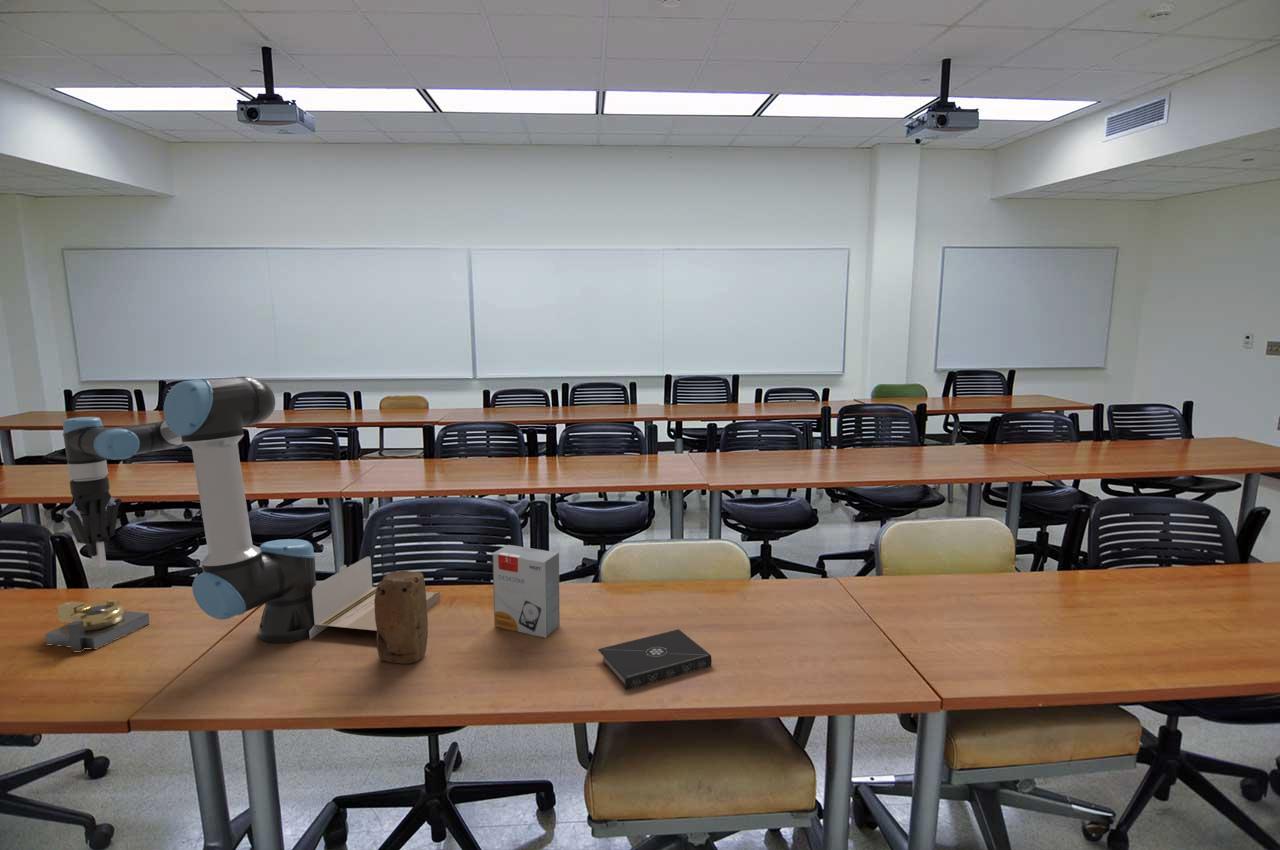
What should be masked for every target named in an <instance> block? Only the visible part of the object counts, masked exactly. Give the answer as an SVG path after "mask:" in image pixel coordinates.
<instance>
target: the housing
mask: <svg viewBox="0 0 1280 850" xmlns="http://www.w3.org/2000/svg"><path fill="white" fill-rule="evenodd" d="M123 611H124V618H123V619H122V620H121V621H119V622H117V623H115V624H113V625H110V626H107V627H104V628H100V629H96V630H90V631H84V624H83V621H73V622H72V623H71V622H68V623H67V624H65V625H62V626H60V627H57V628H55V629H53V630H50V631H48V632H46V633H45V634H44V637H45V642H46V643H45V644H46V645H47V644H52V645H61V646H71V648H70V652H74V651H82V650H83V649H84V648H91V649H95V648H98V647H100V646H102V645H104V644H106V643H109V642H111V641H113V640H114V639H116V638H119V637H121V636H123V635H125V634H128V633H130V632H132V631H134V630H136V631H138V630H137V629H138V628H140V627H142V626H145V625H146V624H149V623H150V616H149V615H150V614H149V612H138V611H129V610H123ZM149 625H150V624H149ZM145 627H146V626H145ZM134 632H135V631H134ZM132 633H133V632H132ZM130 634H131V633H130ZM128 635H129V634H128ZM113 642H114V641H113ZM111 643H112V642H111ZM109 644H110V643H109ZM82 652H83V651H82Z"/></svg>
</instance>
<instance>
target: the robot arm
mask: <svg viewBox="0 0 1280 850" xmlns="http://www.w3.org/2000/svg"><path fill="white" fill-rule="evenodd" d="M275 406H276V397H275V393H274V391H273V390H272V388H271V387H270V386H269V385H268V384H267V383H265V382H264V381H263V380H260V379H258V378H256V377H253V376H251V377H250V376H236V377H234V376H233V377H230V376H229V377H218V378H216V377H215V378H197V379H191V380H184V381H181V382H178V383H176V384H175V385H174V386H172V387H171V388H170V390H169V392H168V393H167V395H166V397H165V399H164V404H163V417H164V419H162V420H160V421H159V420H158V421H156V422H155V421H154V422H150V423H149V422H148V423H140V424H139V423H138V424H132V425H123V426H115V427H104V425H103V422H102V421H103V420H102V419H101V418H100V417H97V416H83V417H82V416H80V417H72V418H67V419H65V420H64V421H63V422H62V428H63V433H62V437H63V443H64V449H65V456H66V460H67V461H66V463H67V471H68V477H69V479H70V481H69V487H70V488H69V489H70V494H71V496H72V500H71V503H70V506H69V507H68V508H67V509H62V510H61V514H62V515H63V516H64V517H65V519H67V521H68V524H69V526H70V528H71V531H72V533H73V536H74V538H75V541H76V542H77V544H85V545H86V547H87V555H88V556H89V557H91V564H92V567H93V568H98V569H99V568H101V569H102V568H104V567H107V559H106V558H107V557H106V553H107V552H108V550H109V548H108V541H110V539H111V537H114V536H115V534H116V525H117V519H118V515H119V514H118V513H119V507H120V505H121V504H122V499H121V498H115V497H112V495H111V493H110V492H109V491H110V481H109V477H108V476H107V475H108V474H109V470H108V462H107V460H114V461H117V460H126V459H129V458H131V457H133V456H134V455H135V456H136V455H141V454H145V453H147V454H148V453H150V452H158V451H166V450H170V449H172V450H174V449H180V448H183V447H186V446H187V447H188V448H189V449H191V452H192V459H193V465H194V471H195V479H196V483H197V484H196V485H197V489H198V491H197V492H198V497H199V502H200V508H201V514H202V521H203V522H202V523H203V526H204V534H205V535H204V536H205V540H206V546H207V554H206V556H205V557H204V558H203V559H202V561H201V568H202V572H201V573H199V574H198V575H197V576H195V577H194V579H193V582H192V585H191V587H192V588H191V589H192V593H193V594H192V595H193V597H194V600H195V601H196V603H197V605H198V607H199V608H200V609H201V611H203V612H204V613H205V614H206V615H208V616H209V617H211V618H213V619H214V620H220V621H221V620H222V621H224V620H229V619H231V618H234V617H236V616H241V615H243V614H244V613H246V612H248V611H251V610H253V609H256V608H258V607H260V606H263V605H264V608H263V612H262V615H261V620H260V624H259V626H258V633H259V638H260V640H262V641H263V642H266V643H269V644H270V643H271V644H283V643H292V642H297V641H301V640H304V639H307V638H310V635H309V631H310V630H311V629H312V628H313V626H314V625H315V624H314V611H313V599H312V589H313V587H314V586H316V585H317V576H316V573H317V572H316V561H315V558H316V556H315V552H314V546H313V544H312V543H311V542H310V541H308V540H304V539H297V538H292V539H291V538H287V539H286V538H285V539H275V540H270V541H266V542H263V543H261V544H260V545H259V547H257V546H255V545H254V544H253V539H252V533H251V527H250V520H249V513H248V512H249V511H248V505H247V500H246V493H245V492H246V491H245V485H244V480H243V473H242V466H241V459H240V454H239V446H238V444H239V442H240V441H241V440H242V438H243V437H244V436H245V433H244V427H248V426H252V425H256V424H260V423H263V422H264V421H265V420H267V419H268V418H270V417H271V415H272V414H273V412H274V410H275V408H276V407H275ZM78 514H79V515H80V516H79V515H78ZM81 519H82V521H81Z"/></svg>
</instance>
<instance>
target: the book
mask: <svg viewBox="0 0 1280 850" xmlns="http://www.w3.org/2000/svg"><path fill="white" fill-rule="evenodd" d="M597 651H598V652H599V653H600V654H601V655H602V657H603V658H602V659H603V661H604V663H605V664H606V665H607V666H608V667H609V668H610V669H611V671H612V672H613V673H614V674H616V676H617V677H618V678H619V680H621V681H622V683H623V684H624V690H625V691H628V690H632V689H636V688H639V687H643V686H645V685H650V684H652V683H656V681H657V682H659V681H663V679H664V680H667V679H670V677H671V678H674V677H678V676H681V675H684V674H687V672H688V673H691V671H692V672H695V671H699V670H702V669H701V668H703V669H706V668H708V666H710V667H712V662H713V661H712V655H711V654H710V652H708V651H707V650H706V649H704V648H703V647H701V646H700V645H699V644H698V643H697V642H696V641H694V640H693V639H692V638H690V637H689V636H688V635H686V634H685V633H684V632H683V631H682V630H681V629H677V628H676V629H674V630H670V631H666V632H662V633H657V634H653V635H649V636H646V637H642V638H636V639H633V640H629V641H625V642H621V643H617V644H614V645H609V646H604V647H601V648H598V650H597ZM705 667H706V668H705ZM698 669H699V670H698ZM694 670H695V671H694ZM666 678H667V679H666ZM649 683H650V684H649ZM642 685H643V686H642ZM638 686H639V687H638Z"/></svg>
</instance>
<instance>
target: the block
mask: <svg viewBox="0 0 1280 850" xmlns="http://www.w3.org/2000/svg"><path fill="white" fill-rule="evenodd" d="M376 587H377V589H376V593H375V599H374V605H375V621H376V627H377V631H376V643H377V644H376V649H377V654H378V655H377V656H378V658H379V659H380V660H381V661H384V662H385V661H387V662H388V663H394V664H412V663H414V662H415V663H417V662H418V661H420V660H421V659H422V658H423V657H424V656H425V654H426V651H427V645H428V638H429V635H428V634H429V621H428V620H429V619H428V610H427V602H426V592H427V590H426V583H425V577H424V574H423V573H422V572H419V571H410V570H399V571H398V570H396V571H392V572H389V573H388V574H385V576H383V579H382V580H380V581H379V582H378V584H377V586H376Z"/></svg>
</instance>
